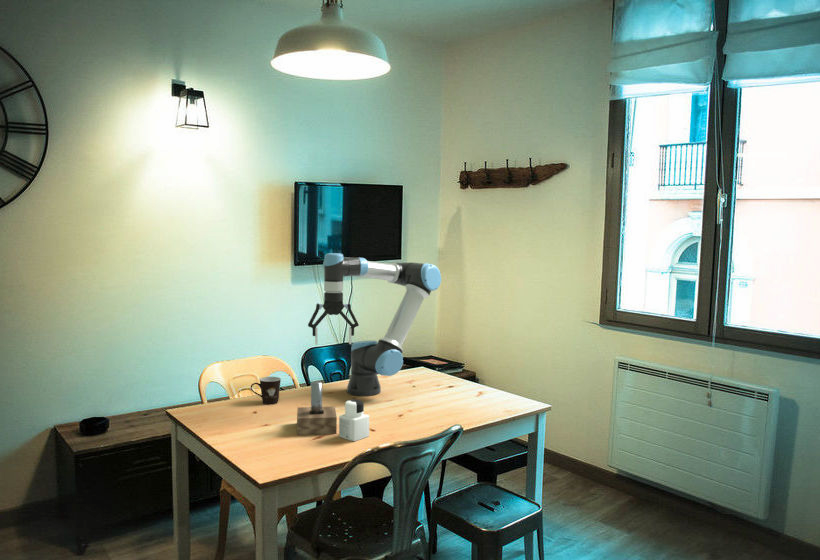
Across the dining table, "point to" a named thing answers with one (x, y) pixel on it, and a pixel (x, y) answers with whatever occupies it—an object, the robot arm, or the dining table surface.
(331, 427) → the bore block
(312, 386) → the pin
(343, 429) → the container
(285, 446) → the dining table surface
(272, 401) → the coffee mug
